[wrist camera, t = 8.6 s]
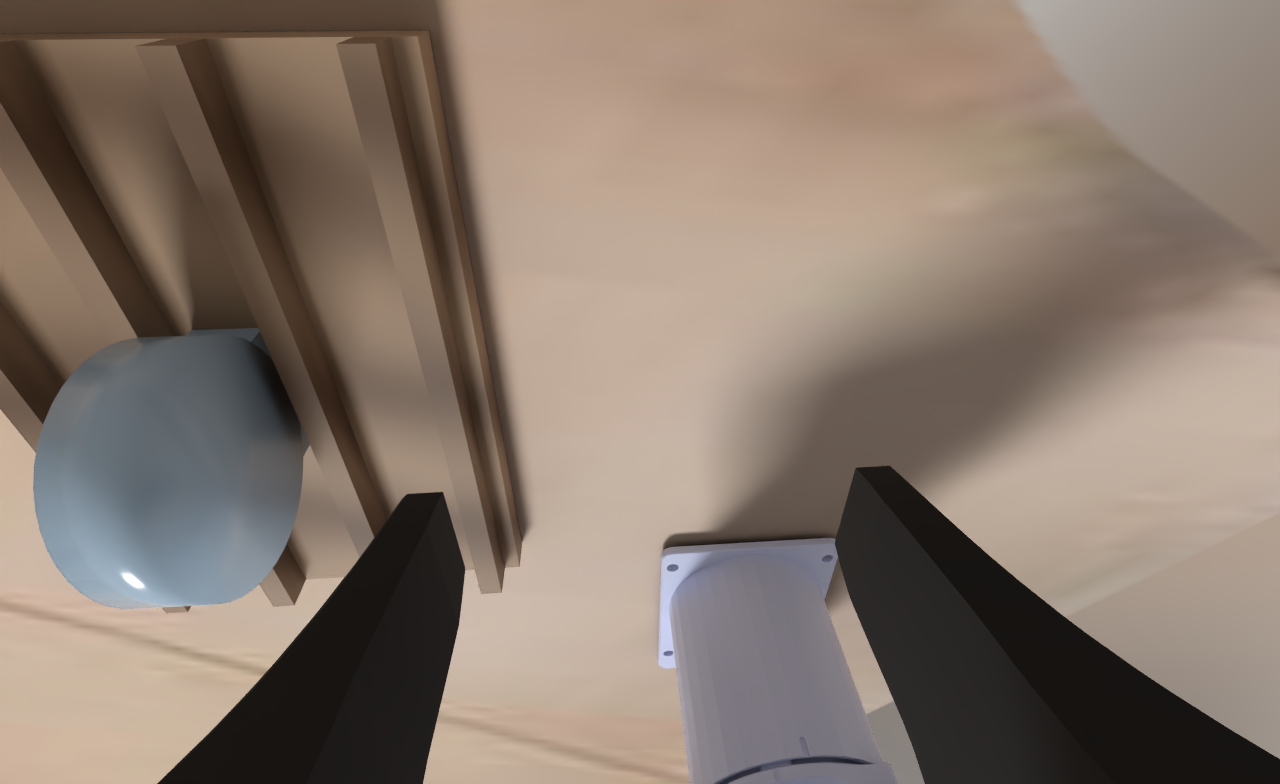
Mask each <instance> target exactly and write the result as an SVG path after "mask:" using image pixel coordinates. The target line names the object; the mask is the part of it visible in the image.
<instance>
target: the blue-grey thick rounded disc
mask: <svg viewBox="0 0 1280 784" xmlns="http://www.w3.org/2000/svg"><path fill="white" fill-rule="evenodd" d="M309 446H310V444H309V441H308V439H307V437H306V435H305V432H304V430H303V428H302V426H301V423H300V421H299V419H298V416H297V414H296V412H295V410H294V407H293V405H292V403H291V401H290V398H289V396H288V394H287V391H286V389H285V387H284V385H283V382H282V380H281V378H280V375H279V373H278V371H277V369H276V366H275V364H274V362H273V360H272V357H271V355H270V353H269V350H268V348H267V346H266V344H265V341H264V339H263V337H262V335H261V332H260V330H259V328H243V329H215V330H191V331H190V332H189V333H188V334H187V335H186V336H164V337H140V338H131V339H126V340H123V341H119V342H116V343H113V344H111V345H109V346H107V347H105V348H103V349H101V350H99V351H98V352H96V353H95V354H94V355H92V356H91V357H89V358H88V359H86V360H85V361H84V362H83V363H82V364H81V365H80V366H79V367H78V368H77V369H76V370H75V371H74V372H73V373H72V375H71V376H70V377H69V378H68V380H67V381H66V382H65V384H64V385H63V386H62V388H61V389H60V391H59V393H58V394H57V396H56V398H55V399H54V401H53V403H52V405H51V407H50V409H49V412H48V414H47V417H46V419H45V421H44V424H43V427H42V431H41V434H40V438H39V441H38V445H37V451H36V458H35V464H34V486H33V490H34V500H35V511H36V515H37V520H38V524H39V528H40V532H41V535H42V538H43V540H44V543H45V545H46V548H47V551H48V552H49V554H50V556H51V558H52V560H53V561H54V563H55V565H56V567H57V568H58V569H59V571H60V572H61V573H62V575H63V576H64V577H65V578H66V580H67V581H68V582H69V583H70V584H71V585H72V586H74V587H75V588H76V589H77V590H78V591H79V592H80V593H82V594H83V595H85V596H86V597H88V598H90V599H91V600H93V601H95V602H97V603H100V604H103V605H105V606H108V607H113V608H119V609H146V608H163V607H180V606H196V605H213V604H222V603H227V602H231V601H234V600H236V599H238V598H241V597H243V596H244V595H246V594H247V593H249V592H250V591H252V590H253V589H254V588H255V587H256V586H257V585H259V584H260V583H261V582H262V581H263V580H264V578H265V577H266V576H267V575H268V574H269V573H270V571H271V570H272V568H273V567H274V565H275V564H276V563H277V561H278V559H279V557H280V556H281V554H282V552H283V550H284V548H285V546H286V544H287V541H288V539H289V537H290V534H291V531H292V528H293V525H294V522H295V519H296V515H297V511H298V506H299V501H300V496H301V488H302V479H303V456H304V455H305V453H306V451H307V449H308V447H309Z"/></svg>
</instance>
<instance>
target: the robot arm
mask: <svg viewBox="0 0 1280 784" xmlns="http://www.w3.org/2000/svg"><path fill="white" fill-rule="evenodd" d="M837 558H839V562H840V565H841V569H842V572H843V576H844V579H845V582H846V586H847V589H848V592H849V596H850V598H851V601H852V603H853V606H854V608H855V611H856V613H857V615H858V618H859V620H860V623H861V625H862V627H863V630H864V632H865V634H866V637H867V639H868V641H869V644H870V646H871V648H872V651H873V653H874V655H875V658H876V660H877V662H878V665H879V667H880V669H881V672H882V674H883V676H884V679H885V681H886V683H887V685H888V688H889V690H890V692H891V695H892V697H893V699H894V702H895V704H896V706H897V709H898V711H899V713H900V716H901V718H902V720H903V723H904V725H905V728H906V731H907V733H908V736H909V738H910V741H911V743H912V746H913V749H914V752H915V754H916V758H917V760H918V764H919V767H920V770H921V773H922V776H923V779H924V782H925V784H1280V759H1279V758H1277V757H1275V756H1273V755H1272V754H1270V753H1268V752H1267V751H1265V750H1263V749H1262V748H1260V747H1258V746H1257V745H1255V744H1253V743H1252V742H1250V741H1248V740H1247V739H1245V738H1243V737H1242V736H1240V735H1238V734H1236V733H1235V732H1233V731H1232V730H1230V729H1228V728H1227V727H1225V726H1224V725H1222V724H1220V723H1219V722H1217V721H1216V720H1214V719H1213V718H1211V717H1209V716H1208V715H1206V714H1205V713H1203V712H1201V711H1200V710H1198V709H1197V708H1195V707H1193V706H1192V705H1190V704H1189V703H1187V702H1186V701H1184V700H1183V699H1181V698H1180V697H1178V696H1176V695H1175V694H1173V693H1172V692H1170V691H1169V690H1167V689H1165V688H1164V687H1163V686H1161V685H1160V684H1158V683H1156V682H1155V681H1154V680H1152V679H1151V678H1149V677H1147V676H1146V675H1144V674H1143V673H1142V672H1140V671H1138V670H1137V669H1136V668H1134V667H1133V666H1131V665H1130V664H1128V663H1127V662H1126V661H1124V660H1123V659H1122V658H1120V657H1119V656H1117V655H1116V654H1115V653H1113V652H1112V651H1110V650H1109V649H1108V648H1106V647H1105V646H1103V645H1101V644H1100V643H1099V642H1098V641H1096V640H1095V639H1093V638H1092V637H1091V636H1089V635H1088V634H1086V633H1085V632H1084V631H1082V630H1081V629H1080V628H1078V627H1077V626H1076V625H1074V624H1073V623H1072V622H1070V621H1069V620H1068V619H1066V618H1065V617H1064V616H1063V615H1061V614H1060V613H1059V612H1057V611H1056V610H1055V609H1054V608H1052V607H1051V606H1050V605H1049V604H1047V603H1046V602H1045V601H1044V600H1042V599H1041V598H1040V597H1039V596H1037V595H1036V594H1035V593H1034V592H1032V591H1031V590H1030V589H1028V588H1027V587H1026V586H1025V585H1023V584H1022V583H1021V582H1020V581H1019V580H1017V579H1016V578H1015V577H1014V576H1013V575H1011V574H1010V573H1009V572H1008V571H1007V570H1005V569H1004V568H1003V567H1002V566H1001V565H1000V564H998V563H997V562H996V561H995V560H994V559H993V558H991V557H990V556H989V555H988V554H987V553H986V552H984V551H983V550H982V549H981V548H980V547H979V546H978V545H976V544H975V543H974V542H973V541H972V540H971V539H970V538H968V537H967V536H966V535H965V534H964V533H963V532H962V531H961V530H960V529H958V528H957V527H956V526H955V525H954V524H953V523H952V522H951V521H950V520H949V519H947V518H946V517H945V516H944V515H943V514H942V513H941V512H940V511H939V510H938V509H936V508H935V507H934V506H933V505H932V504H931V503H930V502H929V501H928V500H927V499H926V498H924V497H923V496H922V495H921V494H920V493H919V492H918V491H917V490H916V489H915V488H914V487H913V486H911V485H910V484H909V483H908V482H907V481H906V480H905V479H904V478H903V477H902V476H901V475H899V474H898V473H897V472H896V471H895V470H894V469H893V468H892V467H890V466H879V467H862V468H856V469H855V473H854V476H853V480H852V484H851V487H850V491H849V494H848V498H847V501H846V505H845V508H844V512H843V515H842V519H841V523H840V526H839V530H838V533H837V537H836V539H834V538H816V539H799V540H782V541H765V542H747V543H730V544H713V545H696V546H678V547H669V548H667V549H665V550H664V551H663V552H662V553H661V569H660V600H659V632H658V664H659V666H660V667H662V668H676V674H677V682H678V690H679V698H680V706H681V714H682V722H683V730H684V739H685V747H686V755H687V763H688V771H689V779H690V784H898V783H897V780H896V778H895V775H894V772H893V770H892V767H891V764H890V763H888V762H883V761H882V758H881V756H880V753H879V750H878V747H877V745H876V742H875V739H874V736H873V733H872V731H871V728H870V725H869V722H868V720H867V717H866V714H865V711H864V709H863V706H862V703H861V700H860V698H859V695H858V692H857V689H856V687H855V684H854V681H853V678H852V676H851V673H850V670H849V667H848V665H847V662H846V659H845V656H844V654H843V651H842V648H841V645H840V642H839V640H838V637H837V634H836V631H835V629H834V626H833V623H832V620H831V618H830V615H829V612H828V609H827V607H826V604H825V597H826V594H827V591H828V588H829V584H830V581H831V578H832V575H833V571H834V568H835V565H836V562H837ZM464 575H465V565H464V561H463V558H462V555H461V551H460V548H459V544H458V541H457V538H456V534H455V531H454V527H453V524H452V521H451V517H450V514H449V510H448V507H447V504H446V500H445V497H444V493H443V492H431V493H414V494H406V495H405V496H404V497H403V498H402V499H401V501H400V502H399V504H398V505H397V506H396V508H395V509H394V511H393V512H392V514H391V515H390V516H389V518H388V519H387V521H386V522H385V523H384V525H383V526H382V528H381V529H380V530H379V532H378V533H377V535H376V536H375V537H374V539H373V540H372V541H371V543H370V544H369V546H368V547H367V548H366V550H365V551H364V552H363V554H362V555H361V556H360V558H359V559H358V560H357V562H356V563H355V565H354V566H353V567H352V568H351V570H350V571H349V572H348V574H347V575H346V576H345V578H344V579H343V580H342V581H341V583H340V584H339V585H338V587H337V588H336V589H335V590H334V592H333V593H332V594H331V596H330V597H329V598H328V599H327V601H326V602H325V603H324V605H323V606H322V607H321V608H320V610H319V611H318V612H317V613H316V615H315V616H314V617H313V618H312V619H311V621H310V622H309V623H308V624H307V625H306V627H305V628H304V629H303V630H302V631H301V632H300V634H299V635H298V636H297V637H296V638H295V640H294V641H293V642H292V643H291V644H290V645H289V647H288V648H287V649H286V650H285V651H284V653H283V654H282V655H281V656H280V657H279V658H278V660H277V661H276V662H275V663H274V664H273V665H272V667H271V668H270V669H269V670H268V671H267V672H266V673H265V674H264V675H263V677H262V678H261V679H260V680H259V681H258V682H257V683H256V684H255V685H254V686H253V688H252V689H251V690H250V691H249V692H248V693H247V694H246V695H245V696H244V697H243V698H242V699H241V701H240V702H239V703H238V704H237V705H236V706H235V707H234V708H233V709H232V710H231V711H230V712H229V713H228V714H227V715H226V716H225V717H224V718H223V719H222V720H221V721H220V722H219V723H218V725H217V726H216V727H215V728H214V729H213V730H212V731H211V732H210V733H209V734H208V735H207V736H206V737H205V738H204V739H203V740H202V741H201V742H200V743H199V744H197V745H196V746H195V747H194V748H193V749H192V750H191V751H190V752H189V753H188V754H187V755H186V756H185V757H184V758H183V759H182V760H181V761H180V762H179V763H178V764H177V765H176V766H175V767H174V768H173V769H172V770H171V771H170V772H169V773H168V774H167V775H166V776H165V777H164V778H163V779H162V780H161V781H160V782H159V783H157V784H423V780H424V775H425V770H426V765H427V759H428V755H429V751H430V747H431V742H432V738H433V734H434V730H435V725H436V721H437V717H438V713H439V708H440V704H441V700H442V696H443V691H444V687H445V683H446V679H447V674H448V670H449V666H450V661H451V657H452V653H453V648H454V644H455V639H456V635H457V630H458V626H459V619H460V611H461V603H462V594H463V584H464Z"/></svg>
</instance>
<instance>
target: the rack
mask: <svg viewBox="0 0 1280 784" xmlns="http://www.w3.org/2000/svg"><path fill="white" fill-rule="evenodd" d="M243 328H259V330H260V332H261V335H262V337H263V339H264V341H265V344H266V346H267V348H268V350H269V353H270V355H271V357H272V360H273V362H274V364H275V366H276V369H277V371H278V373H279V375H280V378H281V380H282V382H283V385H284V387H285V389H286V391H287V394H288V396H289V398H290V401H291V403H292V405H293V407H294V410H295V412H296V414H297V416H298V419H299V421H300V423H301V426H302V428H303V430H304V432H305V435H306V437H307V439H308V441H309V444H310V446H309V447H308V449H307V451H306V453H305V455H304V456H303V479H302V488H301V496H300V501H299V506H298V511H297V515H296V519H295V522H294V525H293V528H292V531H291V534H290V537H289V539H288V541H287V544H286V546H285V548H284V550H283V552H282V554H281V556H280V557H279V559H278V561H277V563H276V564H275V565H274V567H273V568H272V570H271V571H270V573H269V574H268V575H267V576H266V577H265V578H264V580H263V581H262V582H261V583H260V586H261V588H262V589H263V591H264V592H265V594H266V596H267V597H268V599H269V600H270V602H271V604H272V605H273V607H274V606H290V605H295V603H296V601H297V598H298V596H299V594H300V591H301V589H302V587H303V585H304V582H305V580H306V579H318V578H335V577H345V576H346V575H347V574H348V572H349V571H350V570H351V568H352V567H353V566H354V565H355V563H356V562H357V560H358V559H359V558H360V556H361V555H362V554H363V552H364V551H365V550H366V548H367V547H368V546H369V544H370V543H371V541H372V540H373V539H374V537H375V536H376V535H377V533H378V532H379V530H380V529H381V528H382V526H383V525H384V523H385V522H386V521H387V519H388V518H389V516H390V515H391V514H392V512H393V511H394V509H395V508H396V506H397V505H398V504H399V502H400V501H401V499H402V498H403V497H404V496H405V495H406V494H414V493H431V492H443V493H444V497H445V500H446V504H447V507H448V510H449V514H450V517H451V521H452V524H453V527H454V531H455V534H456V538H457V541H458V544H459V548H460V551H461V555H462V558H463V561H464V565H465V570H471V569H475V572H476V576H477V580H478V583H479V587H480V591H481V594H486V593H502V586H503V578H504V570H505V567H520V558H521V548H522V541H521V535H520V530H519V524H518V519H517V513H516V508H515V502H514V497H513V491H512V486H511V480H510V475H509V469H508V464H507V458H506V453H505V447H504V442H503V436H502V431H501V425H500V419H499V414H498V408H497V403H496V397H495V392H494V386H493V381H492V375H491V370H490V364H489V359H488V353H487V348H486V342H485V337H484V331H483V326H482V320H481V315H480V309H479V304H478V298H477V293H476V287H475V282H474V276H473V271H472V265H471V260H470V254H469V249H468V243H467V238H466V232H465V227H464V221H463V216H462V210H461V205H460V199H459V194H458V188H457V183H456V177H455V172H454V166H453V161H452V155H451V150H450V144H449V139H448V133H447V128H446V122H445V117H444V111H443V106H442V100H441V95H440V89H439V84H438V78H437V73H436V67H435V61H434V56H433V50H432V45H431V39H430V34H429V30H409V31H294V32H179V33H65V34H0V409H1V410H2V412H3V413H4V414H5V415H6V416H7V418H8V419H9V420H10V421H11V423H12V424H13V425H14V426H15V428H16V429H17V430H18V431H19V432H20V434H21V435H22V436H23V437H24V439H25V440H26V441H27V442H28V444H29V445H30V446H31V447H32V448H33V450H34V451H35V452H36V451H37V445H38V441H39V438H40V434H41V431H42V427H43V424H44V421H45V419H46V417H47V414H48V412H49V409H50V407H51V405H52V403H53V401H54V399H55V398H56V396H57V394H58V393H59V391H60V389H61V388H62V386H63V385H64V384H65V382H66V381H67V380H68V378H69V377H70V376H71V375H72V373H73V372H74V371H75V370H76V369H77V368H78V367H79V366H80V365H81V364H82V363H83V362H84V361H85V360H86V359H88V358H89V357H91V356H92V355H94V354H95V353H96V352H98V351H99V350H101V349H103V348H105V347H107V346H109V345H111V344H113V343H116V342H119V341H123V340H126V339H131V338H140V337H164V336H186V335H187V334H188V333H189V332H190V331H191V330H215V329H243ZM190 607H191V606H180V607H163V608H162V609H163V610H164V611H165V612H166V613H176V612H188V611H189V609H190Z"/></svg>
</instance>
